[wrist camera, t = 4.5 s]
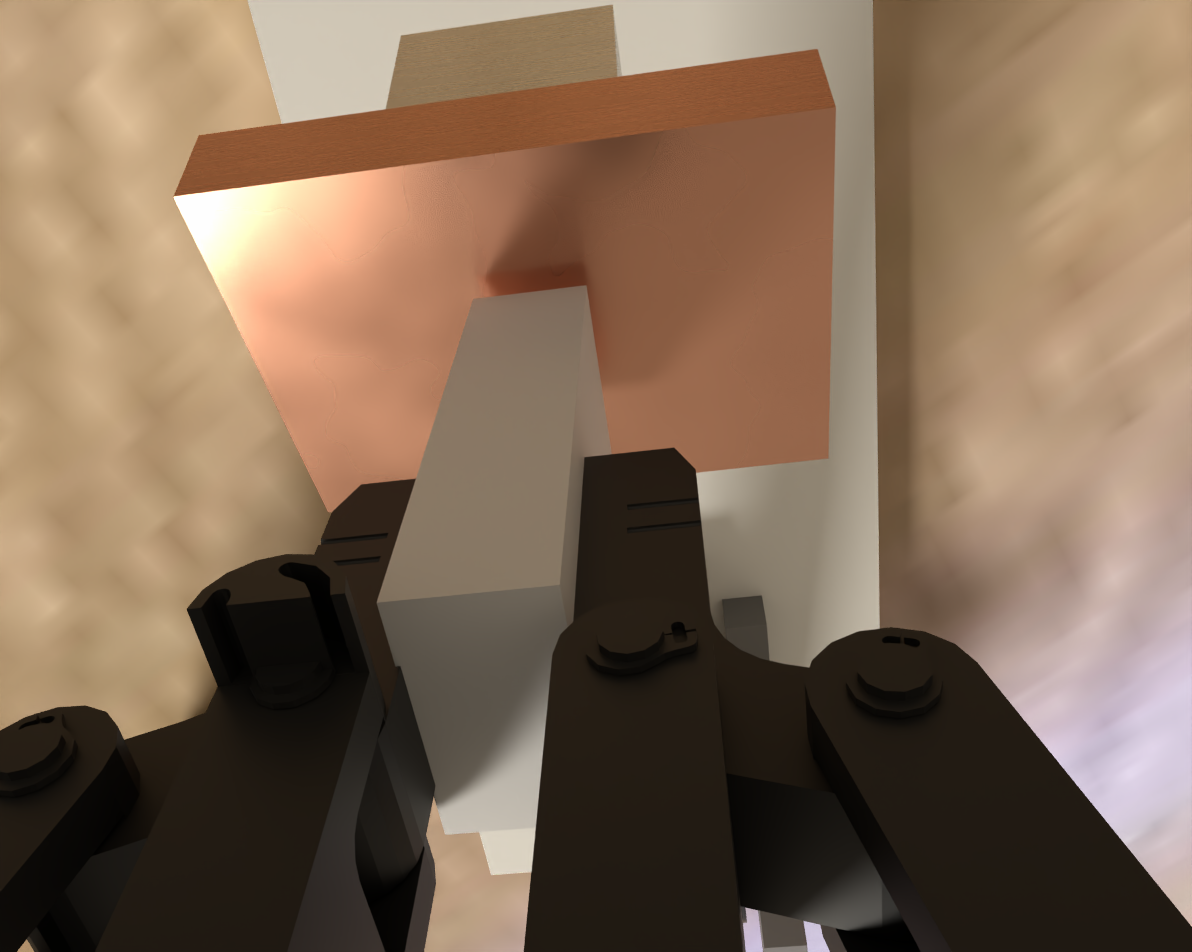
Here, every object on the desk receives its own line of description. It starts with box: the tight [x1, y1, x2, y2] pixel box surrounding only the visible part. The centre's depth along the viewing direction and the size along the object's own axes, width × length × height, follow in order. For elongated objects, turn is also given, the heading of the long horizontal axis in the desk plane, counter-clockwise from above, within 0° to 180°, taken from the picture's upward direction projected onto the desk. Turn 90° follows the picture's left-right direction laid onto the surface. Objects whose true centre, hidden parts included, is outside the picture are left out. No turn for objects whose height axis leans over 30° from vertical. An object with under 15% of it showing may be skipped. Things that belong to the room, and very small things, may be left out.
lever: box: [174, 5, 836, 923], centre depth 25 cm, size 30×8×4 cm, turn 7°
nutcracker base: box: [248, 0, 880, 952], centre depth 30 cm, size 32×14×9 cm, turn 8°
